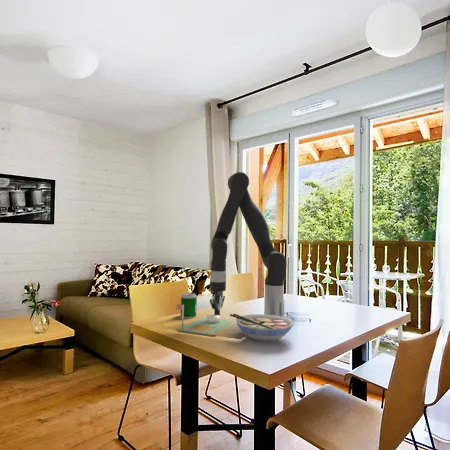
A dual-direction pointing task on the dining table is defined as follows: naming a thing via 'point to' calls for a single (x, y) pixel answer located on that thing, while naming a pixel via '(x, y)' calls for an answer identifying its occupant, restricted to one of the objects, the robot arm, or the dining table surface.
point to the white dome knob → (213, 318)
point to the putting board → (202, 322)
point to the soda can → (189, 305)
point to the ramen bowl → (263, 326)
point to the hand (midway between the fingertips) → (217, 317)
